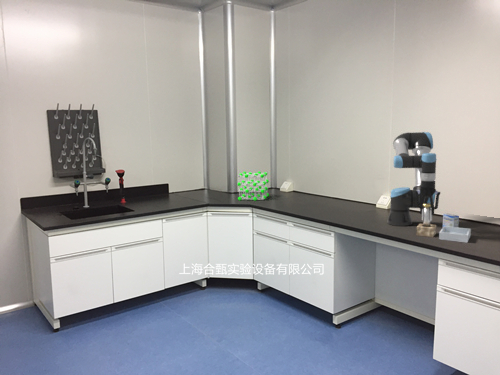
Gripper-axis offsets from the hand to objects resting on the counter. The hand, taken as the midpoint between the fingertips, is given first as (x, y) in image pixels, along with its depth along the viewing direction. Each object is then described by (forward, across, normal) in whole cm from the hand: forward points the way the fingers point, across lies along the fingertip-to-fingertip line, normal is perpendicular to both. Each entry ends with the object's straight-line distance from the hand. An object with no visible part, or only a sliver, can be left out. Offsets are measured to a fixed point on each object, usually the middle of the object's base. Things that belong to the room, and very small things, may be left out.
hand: (426, 220), depth 234 cm
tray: (+8, +15, 0) cm, 17 cm away
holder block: (+8, 0, 0) cm, 8 cm away
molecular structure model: (+9, -160, +60) cm, 171 cm away
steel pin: (+7, 0, 0) cm, 7 cm away
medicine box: (+9, +10, +20) cm, 24 cm away
